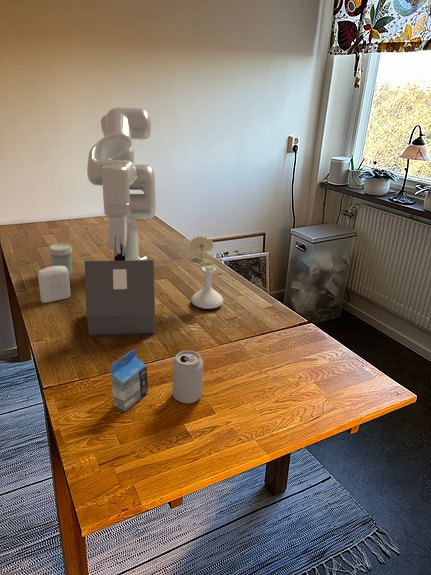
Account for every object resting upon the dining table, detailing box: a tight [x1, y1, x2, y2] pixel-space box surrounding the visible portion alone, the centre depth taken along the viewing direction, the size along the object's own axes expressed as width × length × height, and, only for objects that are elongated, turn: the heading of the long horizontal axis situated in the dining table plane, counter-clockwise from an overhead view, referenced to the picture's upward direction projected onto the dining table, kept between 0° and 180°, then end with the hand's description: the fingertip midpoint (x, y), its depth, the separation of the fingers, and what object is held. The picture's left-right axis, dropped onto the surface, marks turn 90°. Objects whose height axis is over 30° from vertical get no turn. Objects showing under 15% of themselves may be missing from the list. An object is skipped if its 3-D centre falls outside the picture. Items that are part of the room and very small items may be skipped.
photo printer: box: [37, 265, 72, 304], centre depth 158 cm, size 10×4×12 cm, turn 123°
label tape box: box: [110, 348, 149, 412], centre depth 111 cm, size 9×4×12 cm, turn 148°
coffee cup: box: [48, 243, 73, 278], centre depth 176 cm, size 9×8×12 cm
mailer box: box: [86, 314, 155, 337], centre depth 146 cm, size 16×20×7 cm
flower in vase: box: [189, 236, 224, 310], centre depth 156 cm, size 13×11×25 cm
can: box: [172, 350, 204, 404], centre depth 113 cm, size 8×8×12 cm
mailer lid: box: [84, 259, 156, 318], centre depth 137 cm, size 17×20×1 cm
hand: (120, 266), depth 140 cm, fingers closed
